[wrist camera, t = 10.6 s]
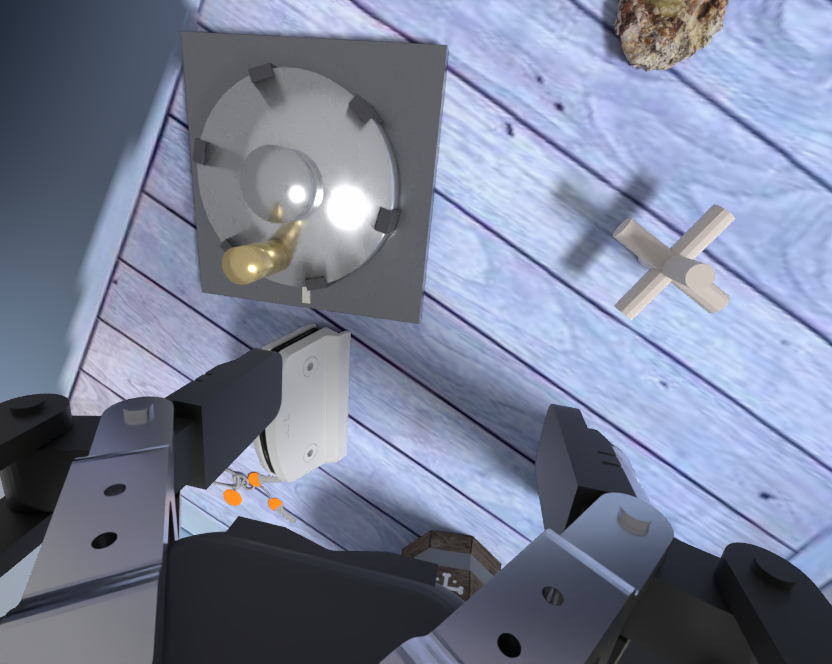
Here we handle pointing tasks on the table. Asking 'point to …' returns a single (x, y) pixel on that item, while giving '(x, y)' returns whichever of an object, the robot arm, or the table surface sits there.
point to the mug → (455, 561)
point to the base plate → (402, 122)
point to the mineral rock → (666, 29)
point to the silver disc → (296, 178)
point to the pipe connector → (674, 263)
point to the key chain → (255, 480)
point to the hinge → (308, 403)
